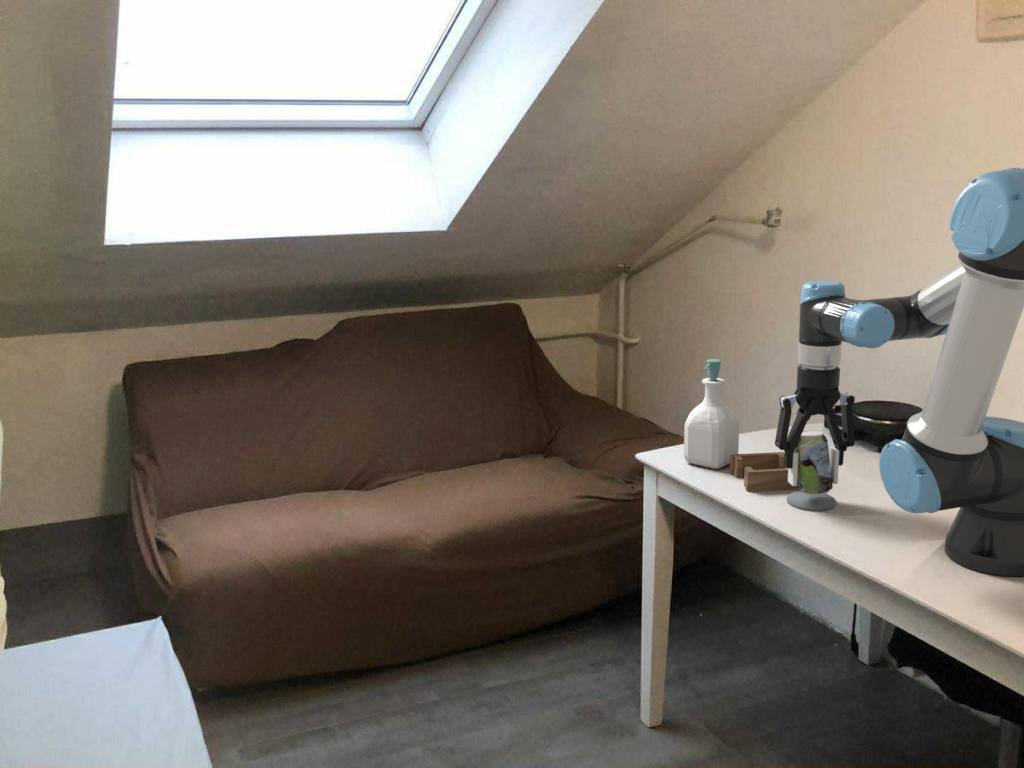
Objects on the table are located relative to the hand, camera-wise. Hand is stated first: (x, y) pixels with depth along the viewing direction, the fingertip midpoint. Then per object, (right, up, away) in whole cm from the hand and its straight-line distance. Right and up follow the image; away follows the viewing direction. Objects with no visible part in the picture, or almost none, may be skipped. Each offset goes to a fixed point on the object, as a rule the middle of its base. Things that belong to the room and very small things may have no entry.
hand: (812, 482), depth 183 cm
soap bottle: (-14, +2, +25) cm, 29 cm away
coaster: (0, -4, +1) cm, 4 cm away
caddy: (-6, -1, +13) cm, 14 cm away
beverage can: (0, -2, +1) cm, 2 cm away
